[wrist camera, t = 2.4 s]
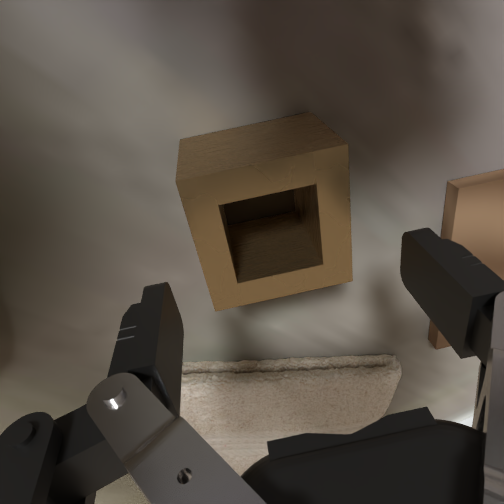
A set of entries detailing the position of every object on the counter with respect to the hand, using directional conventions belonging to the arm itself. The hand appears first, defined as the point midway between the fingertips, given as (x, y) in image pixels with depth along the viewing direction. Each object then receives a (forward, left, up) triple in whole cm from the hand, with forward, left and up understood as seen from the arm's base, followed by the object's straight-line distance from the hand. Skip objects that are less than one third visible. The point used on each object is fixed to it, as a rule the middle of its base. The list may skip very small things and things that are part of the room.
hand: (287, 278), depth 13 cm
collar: (0, 0, -7) cm, 7 cm away
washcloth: (+18, -2, -8) cm, 19 cm away
